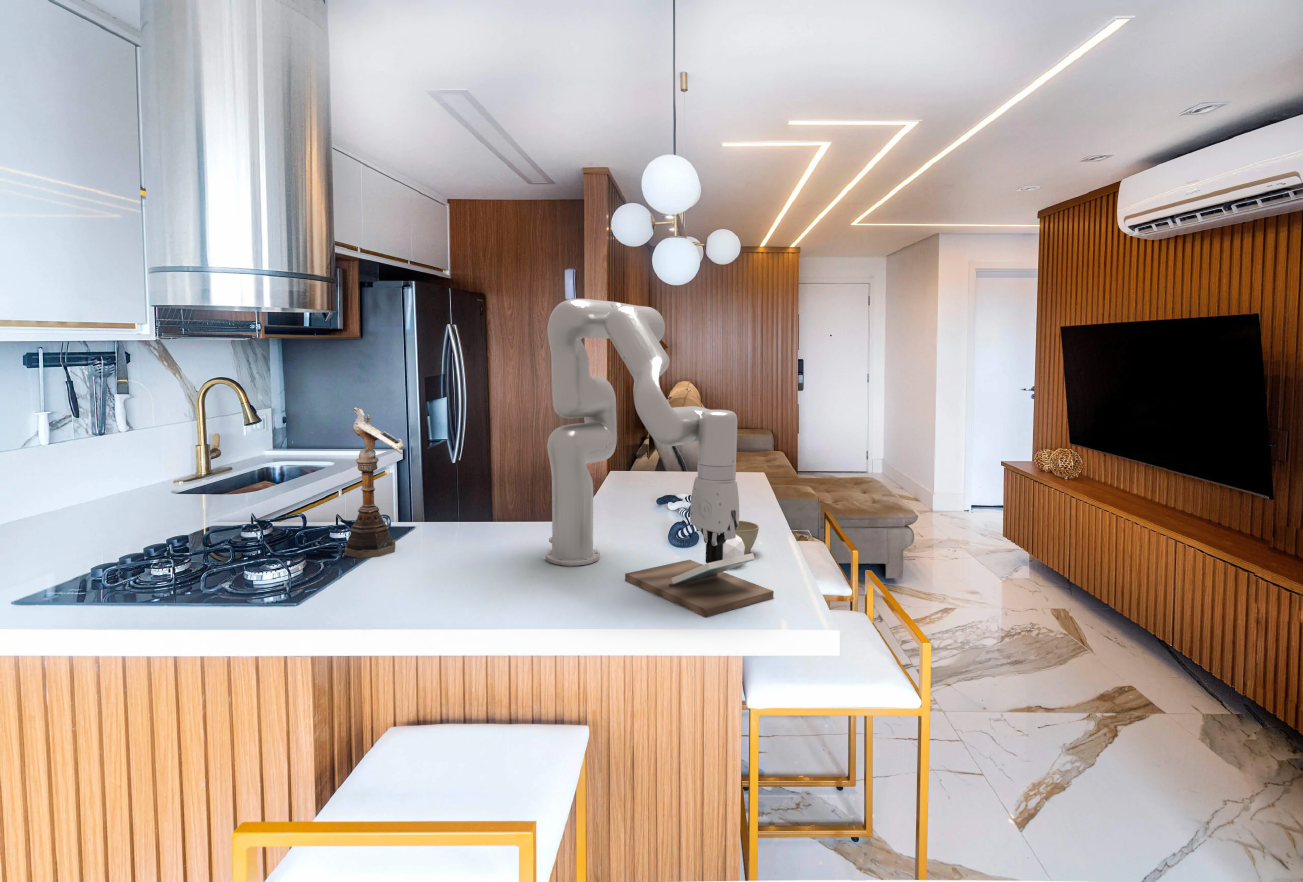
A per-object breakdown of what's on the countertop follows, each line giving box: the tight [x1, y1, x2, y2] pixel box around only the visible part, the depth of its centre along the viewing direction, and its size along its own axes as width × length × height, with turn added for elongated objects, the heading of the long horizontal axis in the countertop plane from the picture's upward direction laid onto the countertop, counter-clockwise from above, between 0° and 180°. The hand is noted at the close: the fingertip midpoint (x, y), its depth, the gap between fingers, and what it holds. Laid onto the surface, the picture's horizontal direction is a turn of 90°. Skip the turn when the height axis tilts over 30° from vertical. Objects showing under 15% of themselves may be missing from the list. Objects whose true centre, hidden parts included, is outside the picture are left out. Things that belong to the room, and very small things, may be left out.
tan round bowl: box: [735, 519, 760, 555], centre depth 175 cm, size 10×10×7 cm
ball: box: [723, 535, 745, 560], centre depth 167 cm, size 8×8×8 cm
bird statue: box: [344, 407, 404, 559], centre depth 173 cm, size 17×13×35 cm
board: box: [624, 559, 775, 618], centre depth 150 cm, size 26×18×2 cm
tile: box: [671, 552, 756, 584], centre depth 145 cm, size 12×12×1 cm
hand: (714, 562), depth 145 cm, fingers closed
